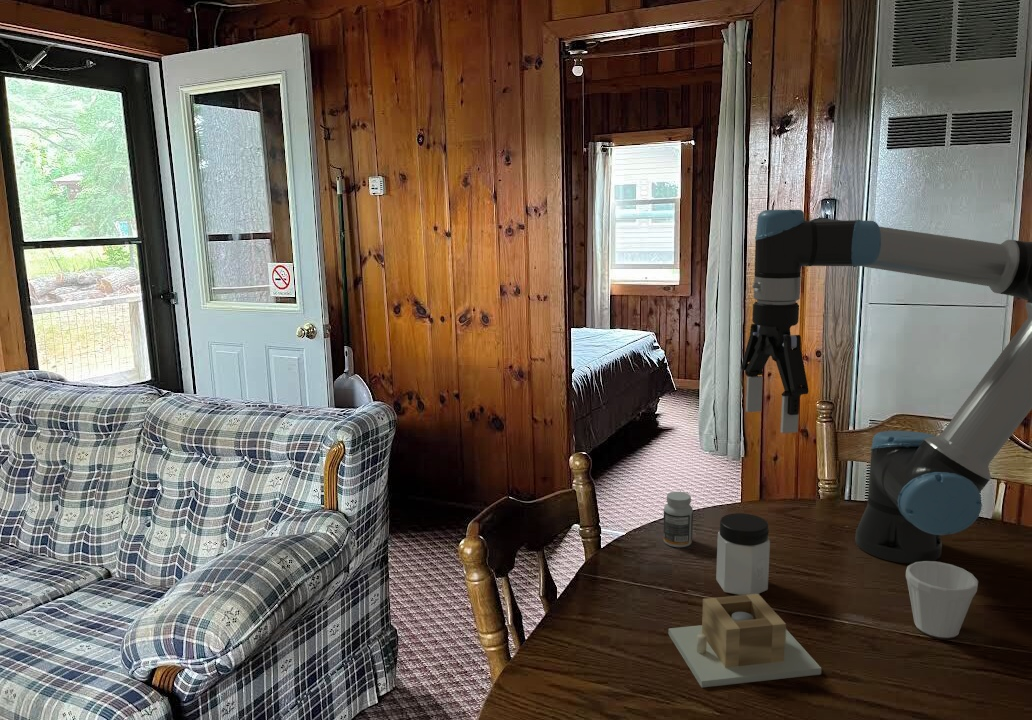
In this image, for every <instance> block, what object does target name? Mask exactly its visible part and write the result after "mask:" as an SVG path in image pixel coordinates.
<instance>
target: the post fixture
mask: <svg viewBox="0 0 1032 720" xmlns="http://www.w3.org/2000/svg"><path fill="white" fill-rule="evenodd" d="M732 619H733V620H734V621H742V620H752V619H754V617H753V616H752V615H751V614H749V613H746V612H735V613H733V614H732ZM668 636H669V638H670V639H671V641H672V642H673V644H674V646H675V647H676V649H677V650H678V652H679V654H680V655H681V657H682V658H683V660H684V662H685V663H686V665H687V666H688V669H690V671H691V673H692V675H693V677H695V679H696V681H697V684H699V686H700V687H701V688H708V687H709V688H710V687H718V686H719V687H720V686H727V685H728V686H729V685H737V684H748V683H755V682H764V681H772V680H774V681H775V680H781V679H791V678H800V677H801V678H803V677H808V676H809V677H810V676H820V675H822V667H821V666H820V665H819V663H818V662H816V660H815V659H814V658H813V657H812V655H810V654H809V652H808V651H806V649H805V648H804V647H803V646H802V645H801V643H799V642H798V641H797V639H796V638H795V637H794V636H793V635H792V634H791V633H790V631H788V629H787V628H786V630H785V649H784V661H781V662H772V663H763V664H754V665H745V666H735V667H726V668H725V667H724V665H723V664H722V662H721V661H720V659H719V658H718V657H717V655H716V654H715V652H714V651H713V649H712V648H711V647H710V645H709V644H708V642H707V636H706V635H704V634H702V624H701V625H699V624H698V625H690V626H681V627H672V628H671V627H670V628H668Z"/></svg>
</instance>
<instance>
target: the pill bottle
mask: <svg viewBox="0 0 1032 720" xmlns="http://www.w3.org/2000/svg"><path fill="white" fill-rule="evenodd" d="M691 496H692V495H690V494H689V493H687V492H684V491H671V492H669V493H667V494H666V502H667V503H666V504H665V505H664V508H663V519H662V520H663V525H662V526H663V531H662V532H663V534H662V538H663V542H664V543H665V544H666V545H667V546H670V547H675V548H685V547H689V546H690V545H691V544H692V542H693V527H694V526H693V525H694V509H693V506H691V505H690V504H691V502H692V498H691Z"/></svg>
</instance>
